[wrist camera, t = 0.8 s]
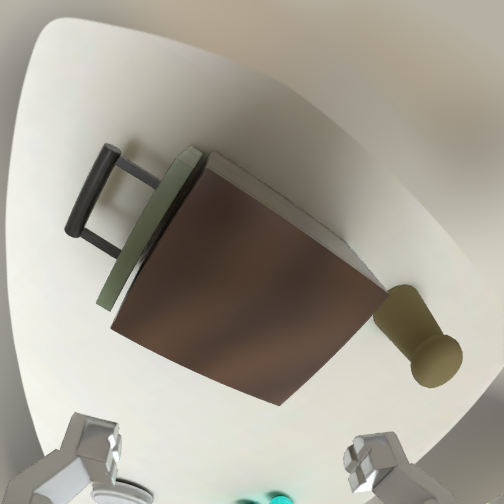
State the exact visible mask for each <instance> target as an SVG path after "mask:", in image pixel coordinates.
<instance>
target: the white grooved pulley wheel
mask: <svg viewBox="0 0 504 504" xmlns="http://www.w3.org/2000/svg"><path fill="white" fill-rule="evenodd" d="M90 495H91V497H92V498H93V499H94V501H95V502H96V503H97V504H152V503H153V497H152V496H151V495H150V494H149V493H147V492H145V491H144V490H142V489H139V488H137V487H134V486H132V485H128V484H125V483H121V482H116V481H115V486H113V485H108V484H104V483H99V482H93V491H92V492H91V494H90Z"/></svg>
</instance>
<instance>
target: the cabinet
mask: <svg viewBox="0 0 504 504" xmlns="http://www.w3.org/2000/svg"><path fill="white" fill-rule="evenodd" d="M389 296H390V294H389V293H388V291H387V290H386V289H385V288H384V286H383V285H382V284H381V283H380V282H379V280H378V279H377V278H376V277H375V276H374V274H373V273H372V272H371V271H370V270H369V269H368V267H367V266H366V265H365V264H364V263H363V261H362V260H361V259H360V258H359V257H358V256H357V254H356V253H355V252H354V251H353V250H352V249H351V248H350V246H349V245H348V244H347V243H346V242H345V241H344V240H342V239H341V238H340V237H338V236H337V235H336V234H334V233H333V232H331V231H330V230H329V229H327V228H326V227H325V226H323V225H322V224H321V223H319V222H318V221H317V220H315V219H314V218H312V217H311V216H310V215H308V214H307V213H305V212H304V211H303V210H301V209H300V208H298V207H297V206H296V205H294V204H293V203H291V202H290V201H289V200H287V199H286V198H284V197H283V196H282V195H280V194H279V193H277V192H276V191H274V190H273V189H271V188H270V187H269V186H267V185H266V184H264V183H263V182H261V181H260V180H258V179H257V178H255V177H254V176H252V175H251V174H250V173H248V172H247V171H245V170H244V169H242V168H241V167H239V166H238V165H236V164H235V163H233V162H232V161H230V160H229V159H227V158H226V157H224V156H222V155H221V154H219V153H218V152H216V151H215V150H213V151H212V152H211V154H210V155H209V157H208V158H207V160H206V161H205V163H204V164H203V166H202V167H201V169H200V170H199V172H198V173H197V175H196V176H195V178H194V179H193V181H192V182H191V184H190V185H189V187H188V188H187V190H186V191H185V193H184V195H183V196H182V198H181V199H180V201H179V202H178V204H177V206H176V207H175V209H174V210H173V212H172V214H171V215H170V217H169V218H168V220H167V222H166V223H165V225H164V227H163V228H162V230H161V231H160V233H159V235H158V236H157V238H156V240H155V241H154V243H153V245H152V247H151V248H150V250H149V252H148V253H147V255H146V257H145V259H144V260H143V262H142V264H141V265H140V267H139V269H138V271H137V273H136V275H135V277H134V279H133V281H132V283H131V285H130V287H129V289H128V291H127V293H126V295H125V298H124V300H123V302H122V304H121V306H120V308H119V310H118V312H117V314H116V317H115V319H114V321H113V323H112V325H111V329H112V330H114V331H115V332H117V333H119V334H121V335H123V336H124V337H126V338H128V339H130V340H132V341H134V342H136V343H137V344H139V345H141V346H143V347H145V348H147V349H149V350H151V351H153V352H155V353H157V354H159V355H161V356H163V357H165V358H167V359H169V360H171V361H173V362H175V363H177V364H179V365H181V366H184V367H186V368H188V369H190V370H192V371H194V372H197V373H199V374H201V375H203V376H205V377H208V378H210V379H212V380H215V381H217V382H219V383H222V384H224V385H226V386H229V387H231V388H234V389H236V390H238V391H241V392H243V393H246V394H248V395H251V396H253V397H256V398H259V399H261V400H264V401H267V402H269V403H272V404H275V405H277V406H280V405H281V404H282V403H284V402H285V401H286V400H287V399H288V398H289V397H290V396H291V395H293V394H294V393H295V392H296V391H297V390H298V389H299V388H300V387H301V386H302V385H304V384H305V383H306V382H307V381H308V380H309V379H310V378H311V377H312V376H313V375H314V374H315V373H316V372H317V371H318V370H319V369H320V368H322V367H323V366H324V365H325V364H326V363H327V362H328V361H329V360H330V359H331V358H332V357H333V356H334V355H335V354H336V353H337V352H338V351H339V350H340V349H341V348H342V347H343V346H344V345H345V344H346V343H347V342H348V341H349V340H350V338H351V337H352V336H353V335H354V334H355V333H356V332H357V331H358V330H359V329H360V328H361V327H362V326H363V325H364V324H365V323H366V322H367V320H368V319H369V318H370V317H371V316H372V315H373V314H374V313H375V312H376V311H377V309H378V308H379V307H380V306H381V305H382V304H383V303H384V302H385V300H386V299H387V298H388V297H389Z"/></svg>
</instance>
